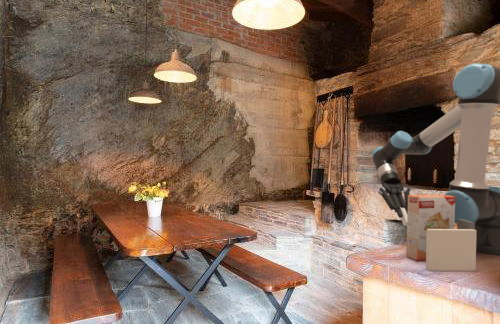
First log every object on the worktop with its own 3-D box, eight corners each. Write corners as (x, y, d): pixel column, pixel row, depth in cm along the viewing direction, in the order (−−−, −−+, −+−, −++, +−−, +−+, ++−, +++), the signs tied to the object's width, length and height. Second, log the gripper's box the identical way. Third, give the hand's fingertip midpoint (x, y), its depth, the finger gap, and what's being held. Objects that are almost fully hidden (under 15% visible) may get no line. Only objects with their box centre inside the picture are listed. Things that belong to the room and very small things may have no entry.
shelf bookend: (461, 262, 108) (462, 218, 108) (477, 270, 100) (478, 223, 100) (415, 262, 108) (416, 218, 107) (428, 270, 100) (429, 223, 100)
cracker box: (418, 262, 108) (419, 196, 108) (405, 256, 114) (406, 194, 114) (455, 259, 111) (456, 195, 111) (440, 254, 117) (441, 193, 117)
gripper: (401, 182, 147) (420, 229, 131) (371, 182, 147) (386, 229, 131) (407, 171, 142) (428, 218, 126) (376, 170, 142) (393, 218, 125)
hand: (406, 224), depth 128 cm, fingers closed
